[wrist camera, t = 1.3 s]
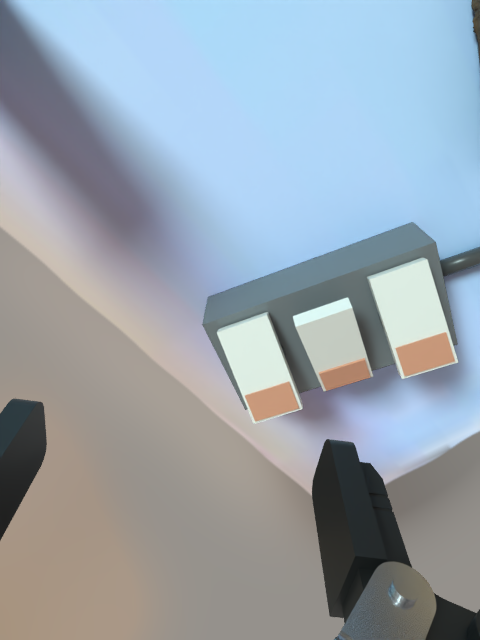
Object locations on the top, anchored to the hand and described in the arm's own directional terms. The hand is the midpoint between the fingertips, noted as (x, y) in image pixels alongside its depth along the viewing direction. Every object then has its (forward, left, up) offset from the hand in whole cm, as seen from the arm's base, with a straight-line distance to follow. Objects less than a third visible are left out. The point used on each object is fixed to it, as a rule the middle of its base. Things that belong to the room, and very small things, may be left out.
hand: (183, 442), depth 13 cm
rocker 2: (-5, +9, -16) cm, 19 cm away
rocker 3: (-10, +9, -16) cm, 21 cm away
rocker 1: (+1, +9, -16) cm, 19 cm away
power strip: (-8, +9, -22) cm, 25 cm away
